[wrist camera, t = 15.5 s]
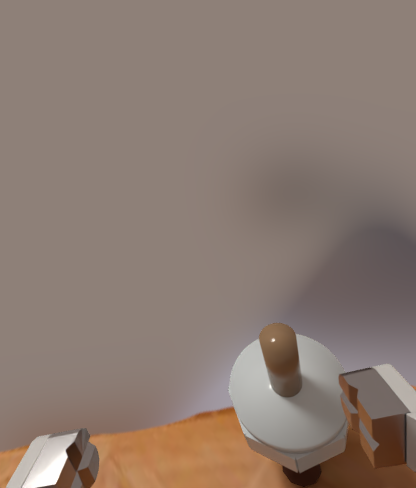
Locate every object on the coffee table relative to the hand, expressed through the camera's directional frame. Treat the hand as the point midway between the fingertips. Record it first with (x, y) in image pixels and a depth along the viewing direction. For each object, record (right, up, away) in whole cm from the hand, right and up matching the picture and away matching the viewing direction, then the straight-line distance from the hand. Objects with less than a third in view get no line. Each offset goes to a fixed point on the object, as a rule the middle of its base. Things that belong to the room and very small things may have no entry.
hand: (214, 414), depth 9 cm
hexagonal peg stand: (+11, -16, +30) cm, 36 cm away
